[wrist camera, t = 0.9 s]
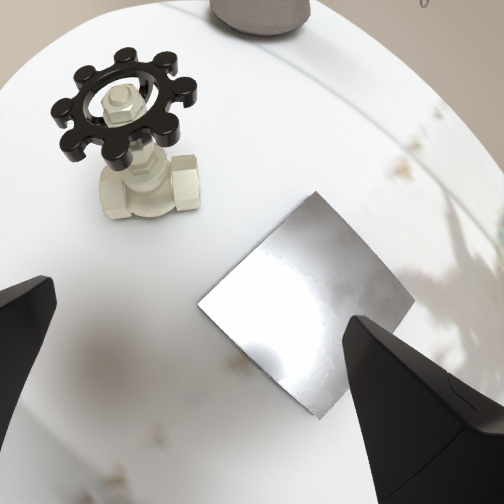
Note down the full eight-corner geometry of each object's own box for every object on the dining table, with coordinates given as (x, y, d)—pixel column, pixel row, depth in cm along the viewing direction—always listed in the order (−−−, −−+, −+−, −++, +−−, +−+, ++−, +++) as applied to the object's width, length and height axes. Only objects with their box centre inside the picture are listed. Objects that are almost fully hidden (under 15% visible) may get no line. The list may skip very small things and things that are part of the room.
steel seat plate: (314, 415, 20) (319, 419, 19) (197, 305, 21) (197, 304, 20) (407, 301, 23) (415, 300, 22) (310, 196, 24) (315, 190, 23)
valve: (114, 166, 22) (64, 61, 11) (194, 155, 23) (193, 38, 12) (115, 245, 21) (37, 175, 9) (203, 235, 22) (202, 148, 11)
